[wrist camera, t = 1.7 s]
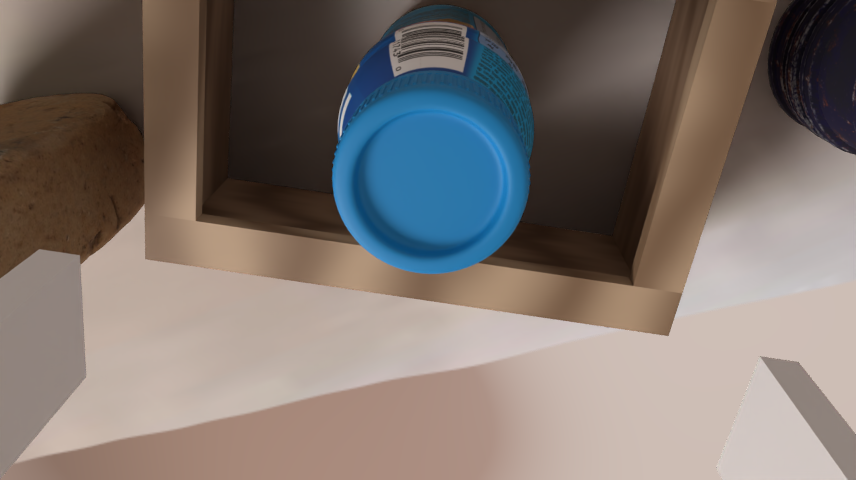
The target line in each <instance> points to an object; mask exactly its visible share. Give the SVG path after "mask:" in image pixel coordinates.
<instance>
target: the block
mask: <svg viewBox="0 0 856 480" xmlns="http://www.w3.org/2000/svg"><path fill="white" fill-rule="evenodd" d="M144 204H145V183H144V140H143V137H142V134H141V133H140V131H139V130H138V128H137V126H136V125H135V124H134V123H133V122H131V121H130V120H129V119H128V118H127V116H126V115H125V113H124V112H123V111H122V109H121V108H120V107H119V105H118V104H117V103H116V102H115V101H114V99H112V98H109V97H107V96H104V95H102V94H92V93H75V94H65V95H62V94H58V95H52V96H45V97H35V98H30V99H25V100H20V101H16V102H12V103H8V104H2V105H0V278H2V277H3V276H4V275H6V274H7V273H8V272H10V271H11V270H12V269H14V268H15V267H16V266H18V265H19V264H20V263H22V262H23V261H24V260H26V259H27V258H28V257H30V256H31V255H32V254H34V253H35V252H36V251H38V250H39V249H41V250H48V251H55V252H61V253H68V254H75V255H80V265H81V264H82V263H83V262H84V261H85V260H86V259H87V258H88V257H89V256H90V255H92V254H93V253H95V252H96V251H98V250H99V249H100V248H102V247H103V246H104V245H105V244H106V243H107V242H109V241H110V240H111V239H112V238H113V237H114V236H115V235H116V234H117V233H118V232H119V231H120V230H121V229H122V228H123V227H124V226H125V225H126V224H127V223H129V222H130V221H131V219H132V218H133V217H134V216H135V215H136V214H137V212H138V211H139V210H140V209H141V207H142V206H143V205H144Z"/></svg>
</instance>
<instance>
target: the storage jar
mask: <svg viewBox="0 0 856 480" xmlns="http://www.w3.org/2000/svg"><path fill="white" fill-rule="evenodd" d="M768 75H769V81H770V86H771V88H772V91H773V94H774V97H775V98H776V100H777V102H778V103H779V105H780V107H781V108H782V109H783V110H784V111H785V112H786V113H787V114H788V116H790V117H791V118H792V119H794V120H795V121H796V122H798V123H799V124H801V125H803V126H805V127H806V128H807V129H809V130H810V131H811V132H813V133H814V134H815V135H816V136H818V137H820V138H822V139H824V140H825V141H827V142H829V143H830V144H832V145H833V146H835V147H837V148H839V149H841V150H843V151H845V152H848V153H852V154H855V155H856V0H794V1H793V2H792V3H791V4H790V5H789V7H788V8H787V10H786V11H785V13H784V14H783V16H782V17H781V19H780V21H779V23H778V25H777V28H776V30H775V32H774V35H773V38H772V41H771V44H770V49H769V56H768Z"/></svg>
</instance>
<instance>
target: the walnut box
mask: <svg viewBox="0 0 856 480" xmlns="http://www.w3.org/2000/svg"><path fill="white" fill-rule="evenodd" d="M777 1H778V0H676V3H675V7H674V10H673V14H672V18H671V21H670V25H669V29H668V32H667V36H666V40H665V43H664V47H663V51H662V55H661V58H660V62H659V66H658V69H657V73H656V77H655V80H654V84H653V88H652V91H651V95H650V99H649V102H648V106H647V110H646V113H645V117H644V121H643V124H642V128H641V132H640V135H639V139H638V143H637V146H636V150H635V154H634V157H633V161H632V165H631V169H630V172H629V176H628V180H627V183H626V187H625V191H624V194H623V198H622V202H621V205H620V209H619V213H618V216H617V220H616V224H615V227H614V231H613V235H612V236H610V235H603V234H597V233H590V232H583V231H577V230H570V229H563V228H557V227H550V226H543V225H537V224H530V223H523V222H519V223H518V225H517V227H516V228H515V230H514V232H513V233H512V234H511V236H510V237H509V238H508V239H507V241H506V242H505V243H504V244H503V245H502V246H501V247H500V248H499V249H498V250H496V251H495V252H494V253H493V254H491V255H490V256H489V257H487V258H486V259H484V260H482V261H480V262H479V263H477V264H475V265H472V266H470V267H467V268H465V269H461V270H458V271H454V272H449V273H441V274H423V273H415V272H410V271H406V270H402V269H399V268H396V267H393V266H391V265H389V264H387V263H385V262H383V261H381V260H379V259H378V258H376V257H375V256H373V255H372V254H370V253H369V252H368V251H367V250H365V249H364V248H363V247H362V246H361V245H360V244H359V243H358V242H357V241H356V240H355V238H354V237H353V236H352V235H351V233H350V232H349V231H348V229H347V227H346V226H345V224H344V222H343V220H342V218H341V216H340V214H339V211H338V209H337V205H336V202H335V198H334V194H330V193H324V192H317V191H310V190H304V189H297V188H290V187H284V186H277V185H270V184H264V183H257V182H250V181H244V180H237V179H230V178H228V157H229V130H230V102H231V75H232V48H233V20H234V0H142V21H143V102H144V183H145V259H148V260H155V261H162V262H169V263H176V264H182V265H189V266H196V267H203V268H210V269H216V270H223V271H230V272H237V273H244V274H250V275H257V276H264V277H271V278H278V279H284V280H291V281H298V282H305V283H312V284H318V285H325V286H332V287H339V288H346V289H352V290H359V291H366V292H373V293H380V294H386V295H393V296H400V297H407V298H414V299H421V300H427V301H434V302H441V303H448V304H455V305H461V306H468V307H475V308H482V309H489V310H495V311H502V312H509V313H516V314H523V315H529V316H536V317H543V318H550V319H557V320H563V321H570V322H577V323H584V324H591V325H597V326H604V327H611V328H618V329H625V330H632V331H638V332H645V333H652V334H659V335H666V336H668V335H669V332H670V329H671V326H672V323H673V320H674V317H675V314H676V311H677V308H678V305H679V302H680V299H681V296H682V292H683V289H684V286H685V283H686V280H687V277H688V274H689V271H690V268H691V265H692V262H693V259H694V256H695V253H696V250H697V246H698V243H699V240H700V237H701V234H702V231H703V228H704V225H705V222H706V219H707V216H708V213H709V210H710V207H711V203H712V200H713V197H714V194H715V191H716V188H717V185H718V182H719V179H720V176H721V173H722V170H723V167H724V164H725V161H726V157H727V154H728V151H729V148H730V145H731V142H732V139H733V136H734V133H735V130H736V127H737V124H738V121H739V118H740V115H741V111H742V108H743V105H744V102H745V99H746V96H747V93H748V90H749V87H750V84H751V81H752V78H753V75H754V72H755V68H756V65H757V62H758V59H759V56H760V53H761V50H762V47H763V44H764V41H765V38H766V35H767V32H768V29H769V26H770V22H771V19H772V16H773V13H774V10H775V7H776V4H777Z"/></svg>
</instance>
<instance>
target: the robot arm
mask: <svg viewBox="0 0 856 480" xmlns="http://www.w3.org/2000/svg"><path fill="white" fill-rule="evenodd" d="M85 377H86V364H85V344H84V325H83V306H82V287H81V268H80V255H75V254H68V253H61V252H55V251H48V250H41V249H39V250H38V251H36V252H35V253H34V254H32V255H31V256H30V257H28V258H27V259H26V260H24V261H23V262H22V263H20V264H19V265H18V266H16V267H15V268H14V269H12V270H11V271H10V272H8V273H7V274H6V275H4V276H3V277H2V278H0V479H1V478H2V476H3V475H4V474H5V473H6V472H7V470H8V469H9V468H10V467H11V466H12V464H13V463H14V462H15V461H16V460H17V459H18V457H19V456H20V455H21V454H22V453H23V451H24V450H25V449H26V448H27V447H28V445H29V444H30V443H31V442H32V441H33V439H34V438H35V437H36V436H37V435H38V433H39V432H40V431H41V430H42V429H43V428H44V426H45V425H46V424H47V423H48V422H49V420H50V419H51V418H52V417H53V416H54V414H55V413H56V412H57V411H58V410H59V408H60V407H61V406H62V405H63V404H64V402H65V401H66V400H67V399H68V398H69V397H70V395H71V394H72V393H73V392H74V391H75V389H76V388H77V387H78V386H79V385H80V383H81V382H82V381H83V380H84V379H85ZM716 468H717V471H718V473H719V475H720V477H721V479H722V480H856V434H855V433H854V431H853V430H852V429H851V428H850V427H849V425H848V424H847V423H846V421H845V420H844V419H843V418H842V416H841V415H840V414H839V413H838V411H837V410H836V409H835V408H834V406H833V405H832V404H831V402H830V401H829V400H828V399H827V397H826V396H825V395H824V394H823V393H822V391H821V390H820V389H819V387H818V386H817V385H816V384H815V382H814V381H813V380H812V379H811V377H810V376H809V375H808V373H807V372H806V371H805V370H804V369H803V367H802V366H801V365H800V363H799V362H794V361H787V360H781V359H774V358H767V357H761V356H760V357H759V360H758V362H757V365H756V368H755V370H754V372H753V375H752V378H751V380H750V383H749V385H748V388H747V390H746V393H745V395H744V398H743V400H742V403H741V406H740V408H739V411H738V413H737V416H736V418H735V421H734V423H733V426H732V429H731V431H730V434H729V437H728V439H727V441H726V444H725V446H724V449H723V452H722V454H721V457H720V460H719V462H718V464H717V467H716Z"/></svg>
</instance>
